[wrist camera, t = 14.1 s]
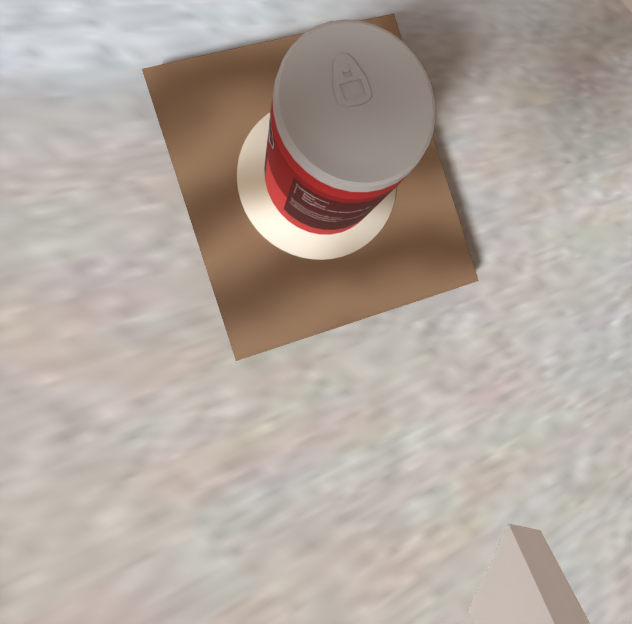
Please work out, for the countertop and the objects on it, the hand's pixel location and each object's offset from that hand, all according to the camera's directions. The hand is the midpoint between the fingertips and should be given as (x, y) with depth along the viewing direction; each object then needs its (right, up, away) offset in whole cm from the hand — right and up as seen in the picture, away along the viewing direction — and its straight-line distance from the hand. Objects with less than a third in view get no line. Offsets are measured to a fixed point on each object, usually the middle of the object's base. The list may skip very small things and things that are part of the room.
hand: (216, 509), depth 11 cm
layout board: (+2, +13, +24) cm, 28 cm away
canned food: (+2, +13, +22) cm, 26 cm away
